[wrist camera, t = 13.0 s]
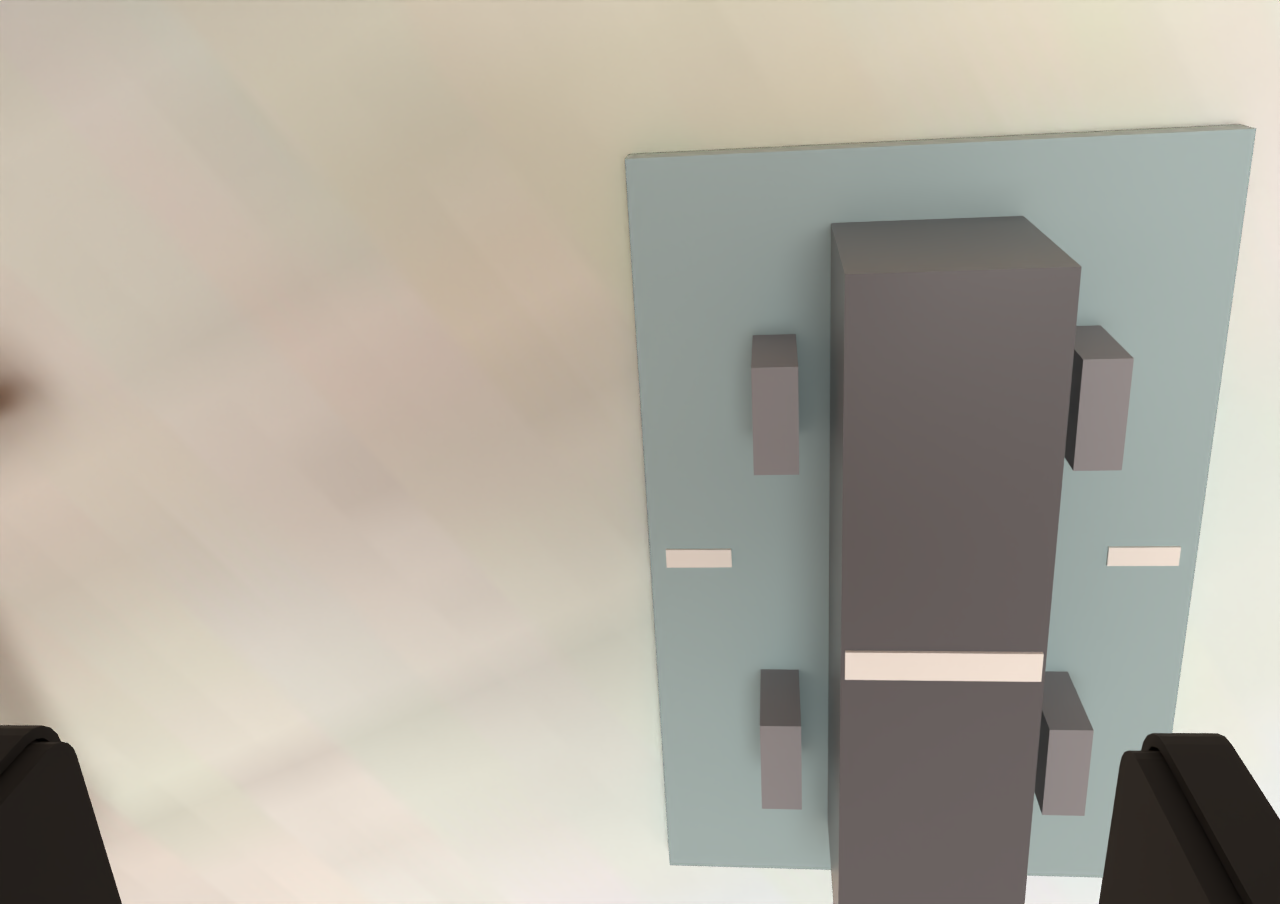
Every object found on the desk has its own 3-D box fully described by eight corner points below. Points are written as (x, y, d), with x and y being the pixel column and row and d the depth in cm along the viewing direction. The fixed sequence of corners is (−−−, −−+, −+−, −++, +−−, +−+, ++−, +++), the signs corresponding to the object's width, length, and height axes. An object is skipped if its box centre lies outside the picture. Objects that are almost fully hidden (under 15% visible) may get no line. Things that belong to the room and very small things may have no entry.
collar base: (672, 845, 40) (662, 931, 36) (629, 154, 31) (610, 175, 27) (1142, 857, 38) (1182, 950, 34) (1241, 124, 29) (1309, 143, 25)
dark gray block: (831, 222, 30) (845, 275, 25) (1023, 215, 30) (1083, 267, 24) (827, 821, 38) (837, 966, 32) (981, 825, 37) (1019, 973, 31)
